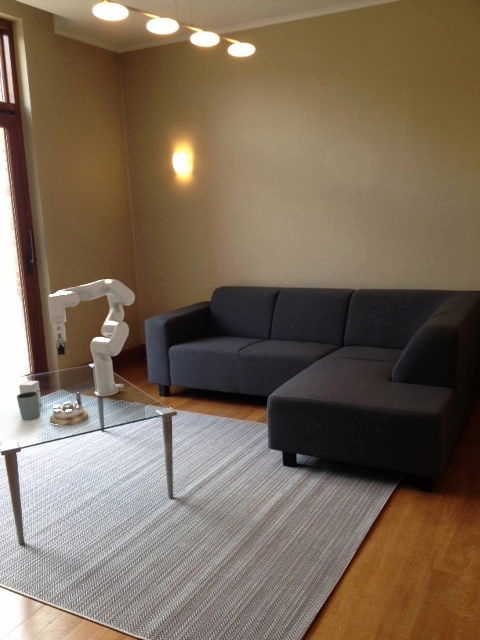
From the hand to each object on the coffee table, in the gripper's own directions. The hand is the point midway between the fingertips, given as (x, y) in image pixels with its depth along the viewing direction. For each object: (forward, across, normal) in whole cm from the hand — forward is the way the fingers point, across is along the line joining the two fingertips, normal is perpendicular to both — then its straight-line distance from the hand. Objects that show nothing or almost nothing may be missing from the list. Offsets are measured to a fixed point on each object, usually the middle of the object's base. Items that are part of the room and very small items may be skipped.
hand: (61, 352), depth 291 cm
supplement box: (+31, +16, +18) cm, 39 cm away
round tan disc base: (+31, -13, -1) cm, 33 cm away
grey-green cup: (+31, -2, +18) cm, 36 cm away
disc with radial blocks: (+28, -13, -1) cm, 31 cm away
